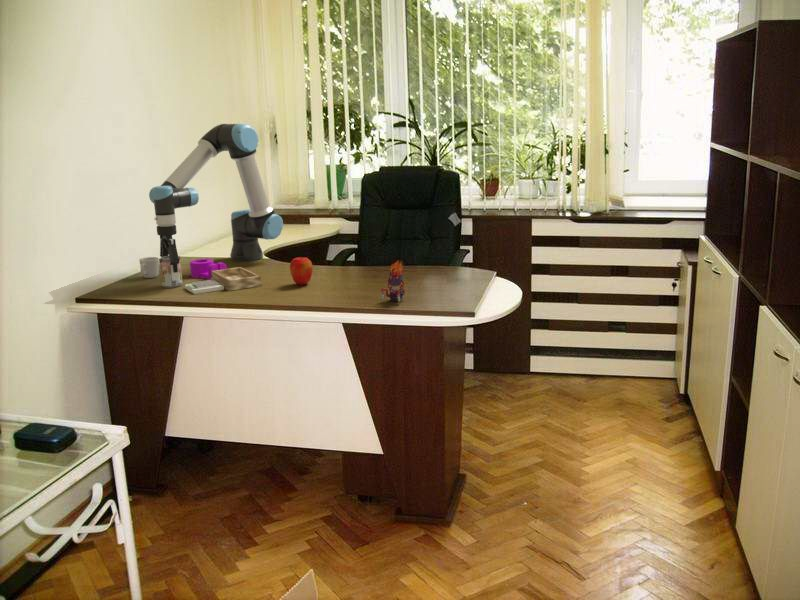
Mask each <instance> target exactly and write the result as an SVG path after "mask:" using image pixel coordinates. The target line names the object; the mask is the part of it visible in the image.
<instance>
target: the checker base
mask: <svg viewBox="0 0 800 600" xmlns="http://www.w3.org/2000/svg"><path fill="white" fill-rule="evenodd" d="M214 282H215V283H217V286H212V287H206V288H199V289H197V288H195V287H194V286H192V285H191V283H187V284H185V285H184V288H185V289H186V290H187V291H189V292H190V293H192V294H193V295H197V294H204V293H210V292H211V293H212V292H217V291H224V290H225V288H224V286H223V285H221V284H220V283H218V282H217V281H214Z"/></svg>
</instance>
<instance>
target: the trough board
mask: <svg viewBox="0 0 800 600" xmlns="http://www.w3.org/2000/svg"><path fill="white" fill-rule="evenodd" d="M211 272H212V278H211V280H212V281H217V282H218V283H220V284H221V285H223V286H224V290H227V291H229V292H230V291H236V290H237V291H238V290H242V289H248V288H256V287H263V283H262V280H261V276H260V275H258V274H257V273H254V272H252V271H250V270H248V269H247V268H244V267H243V266H238V267H231V268H227V269H223V270H216V271H211Z"/></svg>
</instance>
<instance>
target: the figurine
mask: <svg viewBox="0 0 800 600" xmlns="http://www.w3.org/2000/svg"><path fill="white" fill-rule="evenodd" d="M403 273H404V266H403V261H400V260H399V259H398V260H396V262H394V263H392V264H391V265H390V272H389V274H388V279H387V288H384V287H381V289H380V291H381V296H379V297H378V299H380V300H385V296H386V297H387V298H389V299H390V300H392V301H391V302H401V301H402V300H403V296H404V295H405V293H406V292H405V287H404V286H405V283H404V280H403V279H404V274H403ZM396 287H399V288H398V289H395V288H396ZM384 291H385V292H384ZM401 299H402V300H401ZM390 300H389V301H390Z"/></svg>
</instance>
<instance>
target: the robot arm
mask: <svg viewBox="0 0 800 600" xmlns="http://www.w3.org/2000/svg"><path fill="white" fill-rule="evenodd" d="M258 143H259V135H258V133H257V131H256V129H255V128H254V127H253V126H251V125H250V124H245V123H220V124H217V125H216V126H214V127H212V128H211V129H209V130H208V131H207V132H206V133H205V134H204V135H203V136H201V138H200V139H199V140H198V141H197V146H196V147H195V148H194V149H193V151H191V152H190V154H188V155H187V156H186V158H185V159H184V160H183V161H182V162H181V163H180V164H179V165H178V166H177V167H176V168H175V170H174V171H172V173H171V174H170V175H169V176H167V178H166V179H165V180H164V181H163V182H162V184H160V185H157V186H153V187H152V188H151V189H150V190H149V192H148V193H149V194H148V196H149V200H150V202H151V203H152V204H153V205H154V206H153V207H154V213H155V214H154V215H155V217H154V221H155V223H156V233H157V234H156V235H157V236H159V240H160V241H159V242H160V243H159V244H160V245H159V249H160V250H159V256H160V258H162V257H164V256H169V257H170V261H171V263H170V265H171V274H172V281H175V280H179V270H178V263H179V261H180V260H179V258H178V256H179V255H178V249H177V245H176V239H175V238H173V235H174V236H175V235H177V233H178V232H177V231H178V230H177V225H176V223H177V222H176V220H177V219H176V214H175V212H176V211H175V209H180V208H187V207H188V208H189V207H193V206H196V205H197V204H198V203H199V193H198V191H197V190H196V188H194V187H186V186H187V185H188V184H189V183H190V182H191V181H192V180H193V178H195V176H196V175H197V174H198V173H199V172H200V171H201V169H202V168H203V167H204V166H205V165H207V163H208V162H209V160H211V158H216V157H217V155H218V154H220V153H222V152H228V153H229V158H230V159H231V160H233V161H234V162H235V164H236V168H237V170H238V174H239V178H240V180H241V183H242V187H243V191H244V192H245V197H246V199H247V204H248V206H249V208H248V209H241V210H240V209H239V210H235V211H233V212H231V214H230V217H231V218H230V224H231V232H232V245H231V246H232V247H231V251H230V257H229V258H230V260H231V261H233V262H253V261H258V260H262V259H263V258H264V252H263V250H262V248H261V245H260V243H259V239H261V240H262V239H263V240H275V239H277V238H278V237H279V236H280V235H281V233H282V231H283V228H284V222H283V218H282V216H280V215H279V214H276V212H275V209H274V207H273V206H272V205H270V204H269V200H268V197H267V193H266V191H265V188H264V187H265V186H264V184H263V180H262V176H261V174H260V170H259V167H258V163H257V161H256V156H255V155H256V154H257V148H258V146H259V144H258Z"/></svg>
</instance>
